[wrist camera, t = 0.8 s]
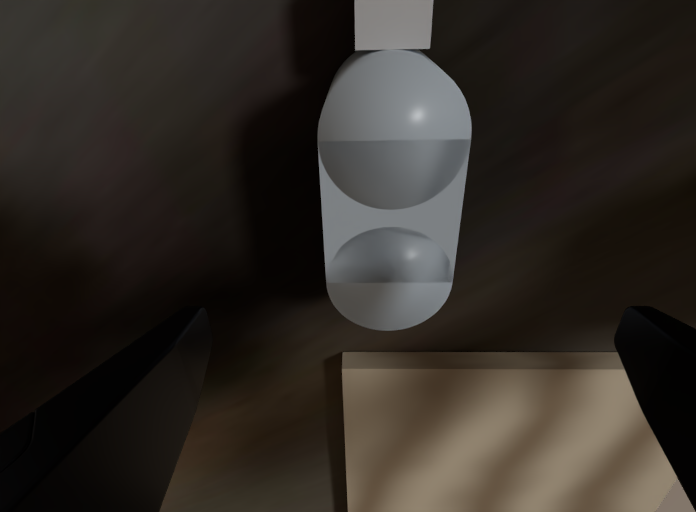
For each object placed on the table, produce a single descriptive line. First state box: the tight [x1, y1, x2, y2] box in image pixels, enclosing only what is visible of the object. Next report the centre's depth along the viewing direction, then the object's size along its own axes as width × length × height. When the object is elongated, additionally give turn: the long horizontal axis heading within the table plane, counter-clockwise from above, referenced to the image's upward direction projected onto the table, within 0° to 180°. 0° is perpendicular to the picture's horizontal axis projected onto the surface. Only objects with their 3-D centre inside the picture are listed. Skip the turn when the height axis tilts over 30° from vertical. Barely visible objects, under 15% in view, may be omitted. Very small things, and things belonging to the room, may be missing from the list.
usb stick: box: [318, 0, 471, 331], centre depth 15 cm, size 12×4×4 cm, turn 1°
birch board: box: [342, 352, 677, 512], centre depth 27 cm, size 20×20×1 cm
